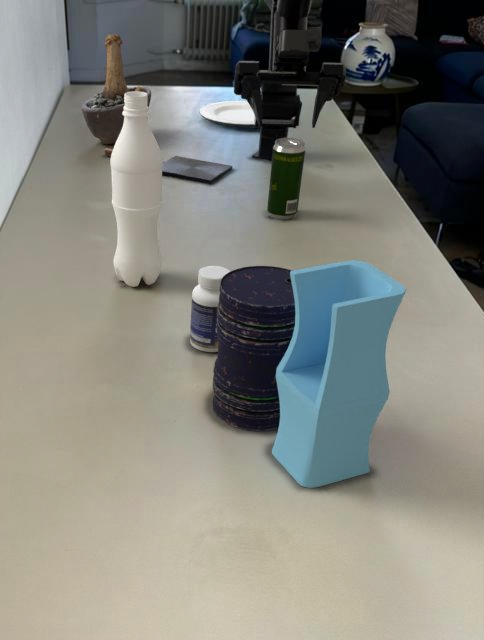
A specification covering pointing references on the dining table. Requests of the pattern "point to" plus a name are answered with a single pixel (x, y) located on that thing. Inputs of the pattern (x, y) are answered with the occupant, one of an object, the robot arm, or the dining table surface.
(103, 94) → the planter
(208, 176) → the spatula
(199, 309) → the pill bottle
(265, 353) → the storage jar
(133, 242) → the water bottle
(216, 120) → the plate
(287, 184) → the beer can
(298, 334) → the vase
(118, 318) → the dining table surface
